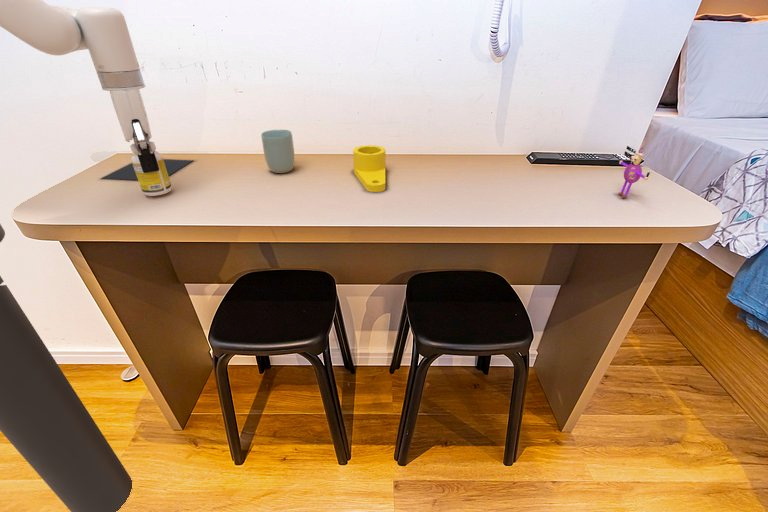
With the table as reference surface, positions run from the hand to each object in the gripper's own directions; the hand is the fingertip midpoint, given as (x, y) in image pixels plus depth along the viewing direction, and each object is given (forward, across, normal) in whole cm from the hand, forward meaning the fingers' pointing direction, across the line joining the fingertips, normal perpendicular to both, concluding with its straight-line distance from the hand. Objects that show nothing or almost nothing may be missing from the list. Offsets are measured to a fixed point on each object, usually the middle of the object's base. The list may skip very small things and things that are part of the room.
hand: (149, 166), depth 87 cm
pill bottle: (+6, 0, 0) cm, 6 cm away
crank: (+7, +18, +48) cm, 51 cm away
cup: (+7, 0, +30) cm, 31 cm away
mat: (+7, -20, 0) cm, 21 cm away
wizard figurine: (+6, +59, +91) cm, 109 cm away
